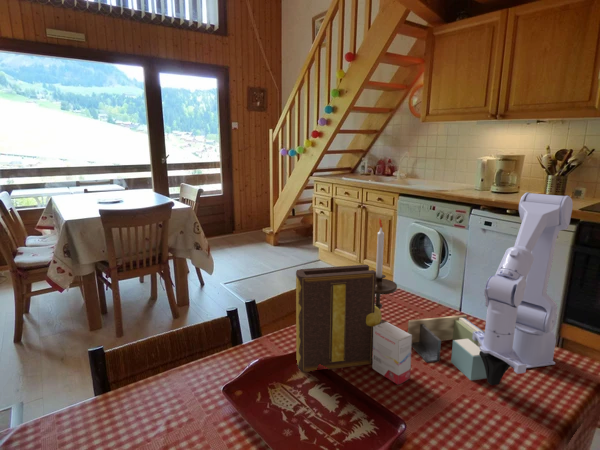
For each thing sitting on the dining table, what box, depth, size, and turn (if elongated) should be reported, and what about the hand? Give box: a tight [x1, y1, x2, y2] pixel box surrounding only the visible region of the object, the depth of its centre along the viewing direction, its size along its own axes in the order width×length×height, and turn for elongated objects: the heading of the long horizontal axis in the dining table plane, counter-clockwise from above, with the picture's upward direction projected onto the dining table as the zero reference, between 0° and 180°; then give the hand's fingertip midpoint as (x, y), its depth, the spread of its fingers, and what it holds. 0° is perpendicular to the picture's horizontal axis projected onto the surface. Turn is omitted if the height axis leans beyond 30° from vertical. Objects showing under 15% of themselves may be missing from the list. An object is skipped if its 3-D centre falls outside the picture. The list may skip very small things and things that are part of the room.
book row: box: [452, 318, 485, 347], centre depth 103 cm, size 3×9×7 cm, turn 11°
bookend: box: [411, 324, 442, 363], centre depth 101 cm, size 4×9×6 cm, turn 11°
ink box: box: [372, 321, 412, 386], centre depth 91 cm, size 9×5×12 cm, turn 33°
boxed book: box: [450, 339, 487, 381], centre depth 93 cm, size 4×8×6 cm, turn 12°
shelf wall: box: [407, 314, 468, 343], centre depth 107 cm, size 18×1×7 cm, turn 101°
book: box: [295, 264, 383, 373], centre depth 95 cm, size 22×8×25 cm, turn 102°
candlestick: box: [375, 217, 398, 325], centre depth 112 cm, size 11×11×35 cm
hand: (493, 383), depth 85 cm, fingers closed
